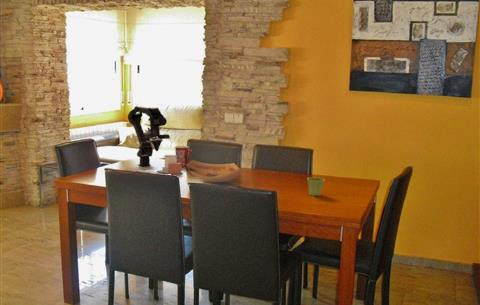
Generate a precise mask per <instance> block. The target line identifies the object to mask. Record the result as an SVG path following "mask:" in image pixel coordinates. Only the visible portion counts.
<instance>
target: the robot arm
mask: <svg viewBox="0 0 480 305" xmlns="http://www.w3.org/2000/svg"><path fill="white" fill-rule="evenodd" d="M143 114H145V115H146V116H148V117H149V118H148V119H147V120H148V122H149V129H148V131H147V132H146V133H145V132H144V129H143V127H142V124H141V123H142V122H141V121H142V118H143ZM127 119H128V122H129V124H131V126H133V129H134V131H135V134H136V137H137V141H138V142H139V146H138V151H137V153H136V156H137V158H139V164H137V166H138V167H139V166H140V167H150V166H152V165H151V164H150V160H151V159H150V157H153V154H154V152H153V151H154V150H155V152H159V149H160V146H161V143H162V142H163V141H164V140H169V139H171V138H170V136H171V135H170V134H167V133H166V134H165V133H164V134H161V130H162V128H161V127H164V126H165V125H166V124H167V118H166V117H165V116H164V114H162V112H161V110H160V109H159V107H145V106H142V105H136V106H134V107H133V109H131V110H130V111H129V112H128V115H127ZM153 148H154V149H153Z"/></svg>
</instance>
